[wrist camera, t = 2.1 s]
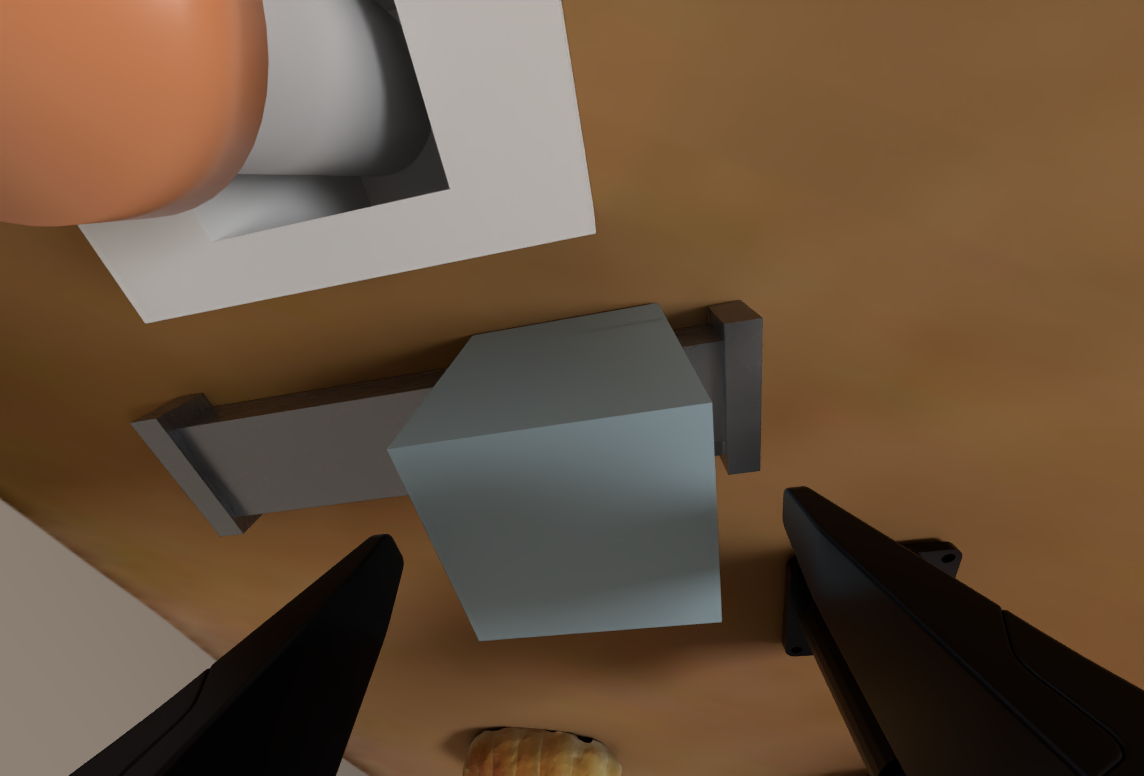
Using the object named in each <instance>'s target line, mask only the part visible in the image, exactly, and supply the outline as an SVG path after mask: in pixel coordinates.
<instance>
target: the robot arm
mask: <svg viewBox="0 0 1144 776" xmlns="http://www.w3.org/2000/svg"><path fill="white" fill-rule="evenodd" d="M783 524H784V527H785V530H786V533H787V535H788V538H789V540H790V543H791V545H792V548H793V550H794V553H795V555H796V556H795V557H793V558H791V559H790V560H789V561H788V563H787V570H786V586H785V602H784V618H783V635H782V644H783V647H784V649H785V652H786V653H787V654H788V655H790V656H809V655H814V657H815V659H816V662H817V664H818V666H819V668H820V670H821V672H822V674H823V677H824V679H825V681H826V683H827V685H828V687H829V689H830V692H831V694H832V696H833V698H834V700H835V702H836V704H837V706H838V709H839V711H840V713H841V715H842V717H843V719H844V721H845V724H846V726H847V728H848V730H849V732H850V734H851V736H852V739H853V741H854V743H855V745H856V747H857V749H858V751H859V753H860V756H861V758H862V760H863V762H864V764H865V766H866V768H867V771H868V773H869V775H870V776H1144V690H1142V689H1140V688H1139V687H1137V686H1135V685H1133V684H1131V683H1130V682H1128V681H1126V680H1124V679H1123V678H1121V677H1119V676H1117V675H1115V674H1114V673H1112V672H1110V671H1108V670H1107V669H1105V668H1103V667H1101V666H1100V665H1098V664H1096V663H1094V662H1092V661H1091V660H1089V659H1087V658H1085V657H1084V656H1082V655H1080V654H1079V653H1077V652H1075V651H1074V650H1072V649H1070V648H1069V647H1067V646H1065V645H1063V644H1062V643H1060V642H1058V641H1057V640H1055V639H1053V638H1052V637H1050V636H1048V635H1047V634H1045V633H1043V632H1042V631H1040V630H1038V629H1037V628H1035V627H1033V626H1032V625H1030V624H1029V623H1027V622H1025V621H1024V620H1022V619H1021V618H1019V617H1017V616H1016V615H1014V614H1012V613H1011V612H1009V611H1007V610H1002V609H1001V607H1000V606H999V605H998V604H996V603H994V602H993V601H991V600H989V599H988V598H986V597H985V596H983V595H981V594H980V593H978V592H977V591H975V590H973V589H972V588H970V587H968V586H967V585H965V584H964V583H962V582H960V581H959V580H957V579H956V578H955V577H956V574H957V571H958V568H959V565H960V562H961V559H962V553H961V552H960V551H959V550H958V549H957V548H956V547H955V546H954V545H953V544H952V543H950V542H934V543H923V544H913V545H901V544H899V543H897V542H896V541H894V540H892V539H891V538H889V537H888V536H886V535H884V534H883V533H881V532H879V531H878V530H876V529H875V528H873V527H871V526H870V525H868V524H867V523H865V522H863V521H862V520H860V519H858V518H857V517H855V516H854V515H852V514H850V513H849V512H847V511H846V510H844V509H842V508H841V507H839V506H837V505H836V504H834V503H833V502H831V501H829V500H828V499H826V498H824V497H823V496H821V495H820V494H818V493H816V492H815V491H813V490H812V489H810V488H808V487H805V486H800V487H791V488H787V489H785V491H784V495H783ZM403 565H404V561H403V557H402V555H401V553H400V551H399V549H398V547H397V545H396V543H395V541H394V540H393V538H392V536H390V535H389V534H381V535H374V536H371V537H369V538H368V539H367V540H366V541H364V542H363V543H362V544H361V545H359V546H358V547H357V548H356V549H354V550H353V551H352V552H351V553H350V554H348V555H347V556H346V557H345V558H343V559H342V560H341V561H340V562H338V563H337V564H336V565H335V566H333V567H332V568H331V569H330V570H329V571H327V572H326V573H325V574H324V575H322V576H321V577H320V578H319V579H317V580H316V581H315V582H314V583H313V584H311V585H310V586H309V587H308V588H306V589H305V590H304V591H303V592H301V593H300V594H299V595H298V596H296V597H295V598H294V599H293V600H292V601H290V602H289V603H288V604H287V605H285V606H284V607H283V608H282V609H280V610H279V611H278V612H277V613H276V614H274V615H273V616H272V617H271V618H269V619H268V620H267V621H266V622H264V623H263V624H262V625H261V626H259V627H258V628H257V629H256V630H255V631H253V632H252V633H251V634H250V635H248V636H247V637H246V638H245V639H243V640H242V641H241V642H240V643H239V644H237V645H236V646H235V647H234V648H232V649H231V650H230V651H229V652H227V653H226V654H225V655H224V656H222V657H221V658H220V659H219V660H218V661H216V662H215V663H214V664H213V665H212V666H211V668H210V669H207V670H205V671H204V672H203V673H201V674H200V675H199V676H198V677H197V678H195V679H194V680H193V681H192V682H190V683H189V684H188V685H187V686H185V687H184V688H183V689H182V690H180V691H179V692H178V693H177V694H175V695H174V696H173V697H172V698H170V699H169V700H168V701H167V702H165V703H164V704H163V705H162V706H160V707H159V708H158V709H156V710H155V711H154V712H153V713H151V714H150V715H149V716H148V717H146V718H145V719H143V720H142V721H141V722H139V723H138V724H137V725H136V726H134V727H133V728H132V729H130V730H129V731H128V732H126V733H125V734H124V735H122V736H121V737H120V738H119V739H117V740H116V741H115V742H113V743H112V744H110V745H109V746H108V747H106V748H105V749H104V750H102V751H101V752H100V753H98V754H97V755H96V756H94V757H93V758H92V759H90V760H89V761H88V762H86V763H85V764H84V765H82V766H81V767H80V768H78V769H77V770H75V771H74V772H73V773H72V774H70V775H69V776H336V774H337V771H338V768H339V766H340V763H341V760H342V757H343V754H344V752H345V749H346V746H347V743H348V740H349V738H350V735H351V732H352V729H353V726H354V723H355V721H356V718H357V715H358V712H359V709H360V707H361V704H362V701H363V698H364V695H365V693H366V690H367V687H368V684H369V681H370V678H371V676H372V673H373V670H374V667H375V664H376V662H377V659H378V656H379V653H380V650H381V647H382V645H383V642H384V639H385V636H386V632H387V629H388V625H389V622H390V618H391V614H392V610H393V606H394V602H395V598H396V594H397V591H398V587H399V583H400V579H401V575H402V571H403Z"/></svg>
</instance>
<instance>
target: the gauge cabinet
mask: <svg viewBox="0 0 1144 776" xmlns="http://www.w3.org/2000/svg"><path fill="white" fill-rule="evenodd" d="M374 1H375V2H376V3H377V4H378V5H380V6H381V7H382V8H383V9H385V10H386V11H387V12H388V13H389V14H390V15H392V16H393V17H394V18H395V19H396V20H397V21H398V22H399V23H400V24H401V25H402V29H403V32H404V36H405V39H406V42H407V46H408V49H409V52H410V56H411V59H412V63H413V66H414V69H415V73H416V76H417V80H418V83H419V86H420V90H421V93H422V96H423V100H424V103H425V107H426V110H427V113H428V117H429V120H430V124H431V132H430V134H429V137H428V140H427V142H426V144H425V146H424V148H423V150H422V151H421V153H420V154H419V156H418V157H417V158H416V159H415V160H414V161H413V162H412V163H411V164H410V165H408V166H407V167H406V168H404V169H402V170H400V171H399V172H396V173H393V174H390V175H385V176H331V175H267V174H237V175H236V176H235V177H234V178H233V180H232V181H231V182H230V183H229V185H228V186H226V187H225V188H224V189H223V190H222V191H221V192H219V193H218V194H217V195H216V196H215V197H213V198H212V199H210V200H209V201H207V202H205V203H203V204H201V205H200V206H198V207H196V208H194V209H191V210H188V211H185V212H182V213H179V214H176V215H171V216H164V217H157V218H148V219H137V220H126V221H114V222H103V223H92V224H80V225H78V227H79V228H80V230H81V231H82V232H83V234H84V235H85V237H86V238H87V240H88V241H89V243H90V244H91V245H92V247H93V248H94V250H95V251H96V253H97V254H98V256H99V257H100V259H101V260H102V261H103V263H104V264H105V266H106V267H107V269H108V270H109V272H110V273H111V275H112V276H113V277H114V279H115V280H116V282H117V283H118V285H119V286H120V288H121V289H122V290H123V292H124V293H125V295H126V296H127V298H128V299H129V301H130V302H131V304H132V305H133V306H134V308H135V309H136V311H137V312H138V314H139V315H140V317H141V318H142V319H143V321H144V322H145V324H146V323H151V322H156V321H161V320H166V319H171V318H176V317H181V316H186V315H191V314H196V313H201V312H206V311H211V310H216V309H221V308H226V307H231V306H236V305H241V304H246V303H251V302H256V301H261V300H266V299H271V298H276V297H281V296H285V295H290V294H295V293H300V292H305V291H310V290H315V289H320V288H325V287H330V286H335V285H340V284H345V283H350V282H355V281H360V280H365V279H370V278H375V277H380V276H385V275H390V274H395V273H400V272H405V271H410V270H415V269H420V268H425V267H430V266H435V265H440V264H445V263H450V262H455V261H460V260H465V259H470V258H475V257H480V256H485V255H490V254H495V253H500V252H505V251H510V250H515V249H520V248H525V247H530V246H535V245H540V244H545V243H550V242H555V241H560V240H565V239H570V238H575V237H580V236H585V235H590V234H595V233H596V228H595V218H594V208H593V201H592V195H591V189H590V182H589V176H588V169H587V163H586V157H585V150H584V144H583V137H582V131H581V125H580V118H579V112H578V105H577V99H576V92H575V86H574V80H573V73H572V67H571V60H570V54H569V48H568V41H567V35H566V28H565V22H564V16H563V9H562V3H561V0H374Z"/></svg>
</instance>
